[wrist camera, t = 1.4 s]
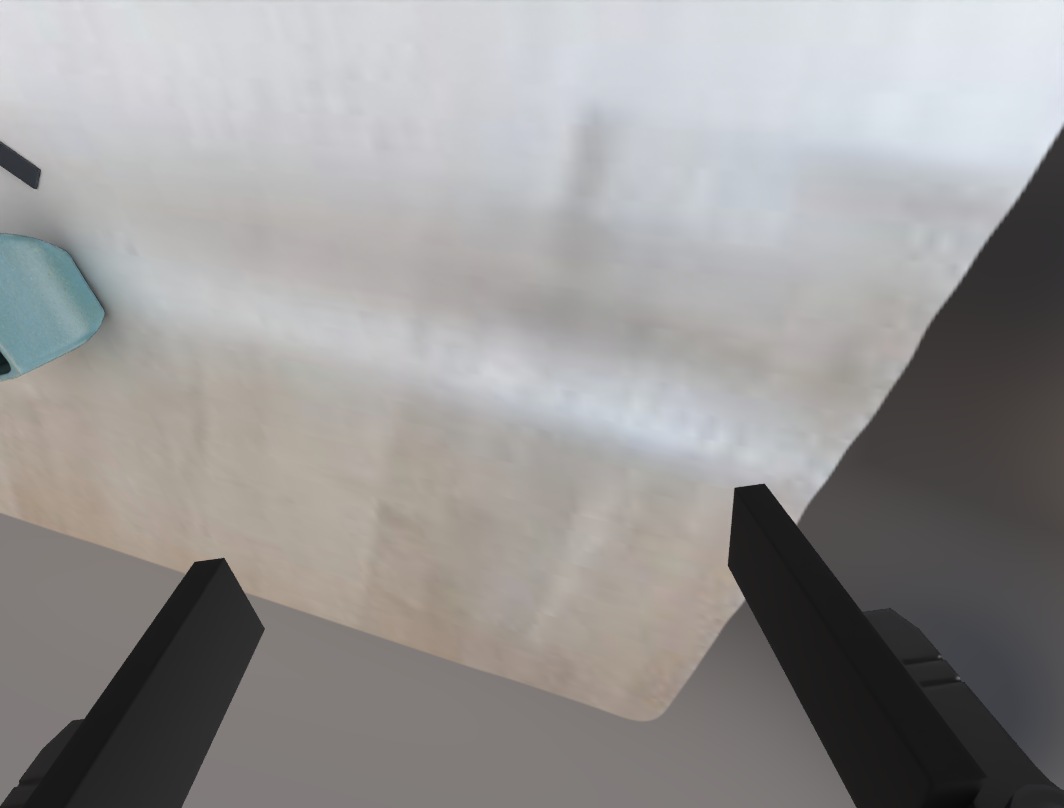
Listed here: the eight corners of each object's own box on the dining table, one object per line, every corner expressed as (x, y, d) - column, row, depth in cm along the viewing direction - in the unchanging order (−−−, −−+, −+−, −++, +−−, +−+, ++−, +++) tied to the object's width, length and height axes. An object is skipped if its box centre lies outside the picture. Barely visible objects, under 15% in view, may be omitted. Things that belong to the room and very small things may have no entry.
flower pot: (71, 214, 36) (-85, 231, 28) (142, 331, 39) (21, 376, 31) (-14, 245, 38) (-183, 270, 30) (60, 353, 41) (-73, 401, 33)
